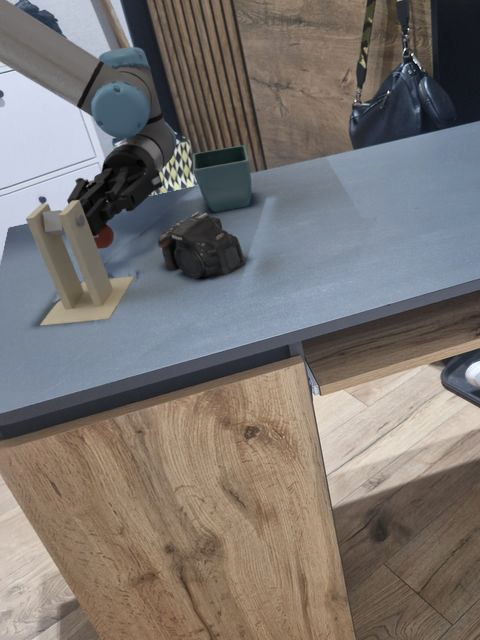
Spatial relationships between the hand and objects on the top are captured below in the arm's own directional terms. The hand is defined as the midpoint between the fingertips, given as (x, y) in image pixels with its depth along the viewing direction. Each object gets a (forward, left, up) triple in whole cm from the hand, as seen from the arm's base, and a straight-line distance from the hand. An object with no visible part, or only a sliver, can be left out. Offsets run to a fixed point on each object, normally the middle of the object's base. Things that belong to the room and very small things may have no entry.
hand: (81, 227), depth 84 cm
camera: (+13, +5, -9) cm, 17 cm away
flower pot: (+7, +27, -9) cm, 30 cm away
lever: (0, -1, -2) cm, 2 cm away
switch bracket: (+1, -5, -9) cm, 10 cm away
